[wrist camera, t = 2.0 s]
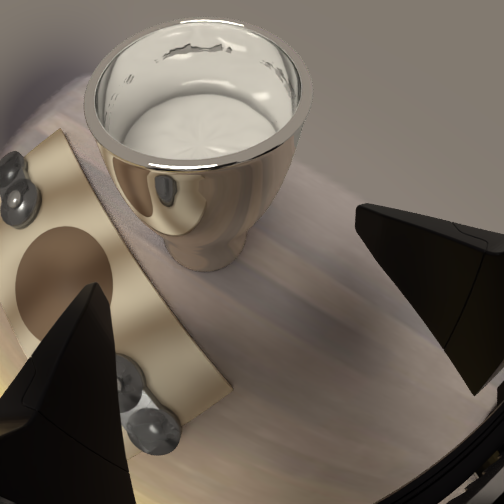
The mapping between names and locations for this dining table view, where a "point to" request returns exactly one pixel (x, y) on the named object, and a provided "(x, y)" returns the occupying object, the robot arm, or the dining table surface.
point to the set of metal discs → (128, 370)
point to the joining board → (106, 275)
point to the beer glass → (199, 130)
